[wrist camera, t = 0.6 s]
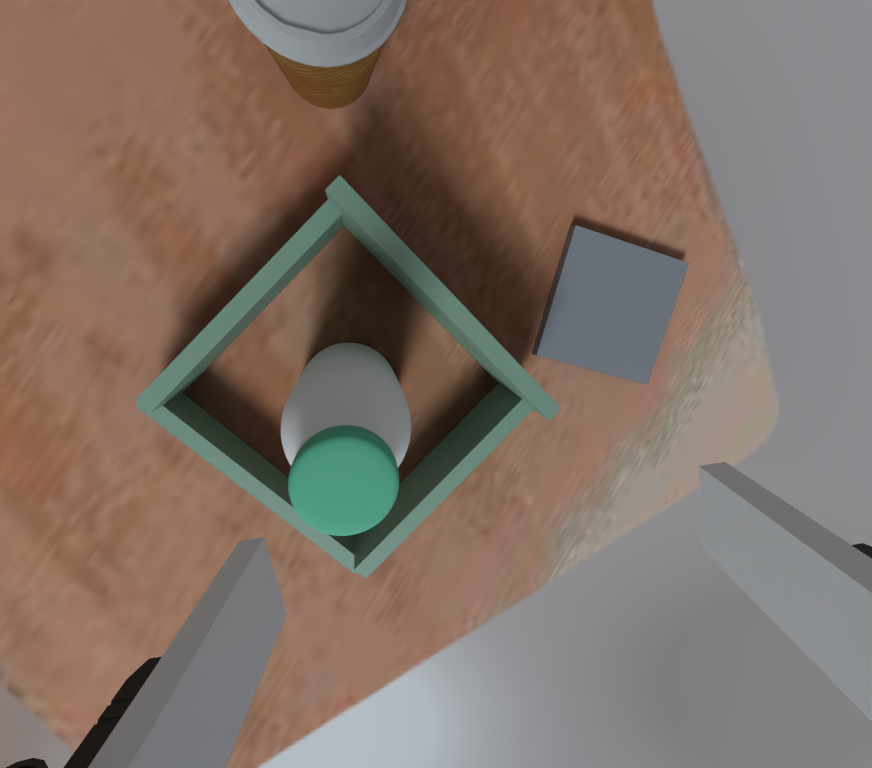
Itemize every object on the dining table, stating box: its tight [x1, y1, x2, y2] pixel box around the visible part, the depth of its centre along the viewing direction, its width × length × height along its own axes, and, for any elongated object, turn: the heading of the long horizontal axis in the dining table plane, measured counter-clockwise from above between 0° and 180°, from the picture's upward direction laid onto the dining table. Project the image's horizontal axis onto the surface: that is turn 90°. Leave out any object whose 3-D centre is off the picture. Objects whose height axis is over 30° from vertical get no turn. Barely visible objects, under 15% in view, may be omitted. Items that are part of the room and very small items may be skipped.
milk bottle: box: [281, 343, 411, 536], centre depth 29 cm, size 8×8×20 cm
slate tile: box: [532, 225, 689, 384], centre depth 40 cm, size 11×11×1 cm
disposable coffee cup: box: [229, 0, 406, 109], centre depth 28 cm, size 10×10×12 cm
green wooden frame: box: [135, 175, 561, 578], centre depth 34 cm, size 20×20×9 cm
